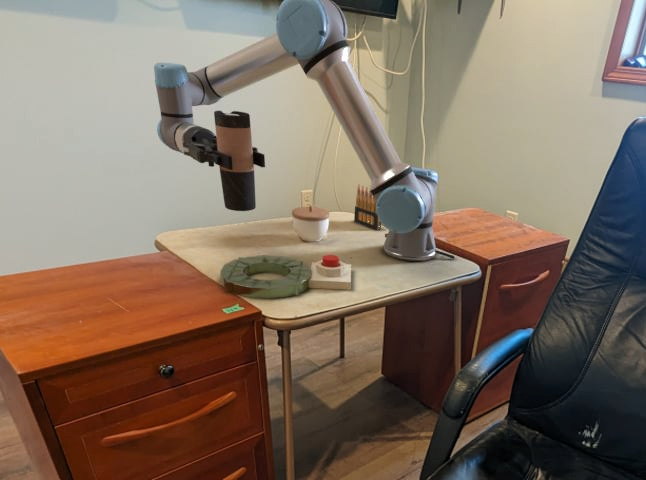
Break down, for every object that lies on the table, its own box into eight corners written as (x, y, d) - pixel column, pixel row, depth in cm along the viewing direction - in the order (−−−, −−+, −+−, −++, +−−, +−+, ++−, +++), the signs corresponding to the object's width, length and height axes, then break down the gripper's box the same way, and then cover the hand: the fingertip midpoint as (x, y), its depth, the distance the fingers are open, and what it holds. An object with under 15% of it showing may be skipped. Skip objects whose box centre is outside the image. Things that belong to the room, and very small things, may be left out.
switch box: (350, 271, 134) (351, 256, 132) (350, 290, 125) (350, 274, 122) (312, 269, 133) (311, 254, 131) (308, 287, 123) (308, 271, 121)
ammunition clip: (353, 221, 171) (355, 183, 164) (357, 221, 172) (359, 183, 165) (377, 230, 166) (379, 191, 159) (380, 229, 167) (383, 190, 160)
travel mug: (248, 213, 121) (240, 116, 109) (217, 208, 121) (206, 112, 110) (262, 205, 127) (256, 113, 115) (233, 201, 128) (224, 109, 116)
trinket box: (299, 245, 147) (298, 212, 142) (288, 234, 154) (286, 201, 149) (334, 243, 152) (335, 210, 146) (321, 231, 159) (321, 200, 154)
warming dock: (314, 267, 134) (314, 258, 133) (308, 300, 118) (307, 290, 116) (231, 262, 132) (230, 253, 130) (213, 295, 115) (211, 285, 113)
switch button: (339, 263, 129) (339, 255, 128) (338, 269, 126) (338, 260, 124) (322, 262, 128) (322, 254, 127) (322, 268, 125) (322, 259, 124)
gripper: (236, 157, 136) (286, 176, 124) (159, 161, 123) (206, 183, 111) (234, 125, 132) (285, 141, 119) (153, 126, 119) (201, 145, 107)
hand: (247, 162), depth 115 cm, fingers closed on travel mug, 7 cm apart
